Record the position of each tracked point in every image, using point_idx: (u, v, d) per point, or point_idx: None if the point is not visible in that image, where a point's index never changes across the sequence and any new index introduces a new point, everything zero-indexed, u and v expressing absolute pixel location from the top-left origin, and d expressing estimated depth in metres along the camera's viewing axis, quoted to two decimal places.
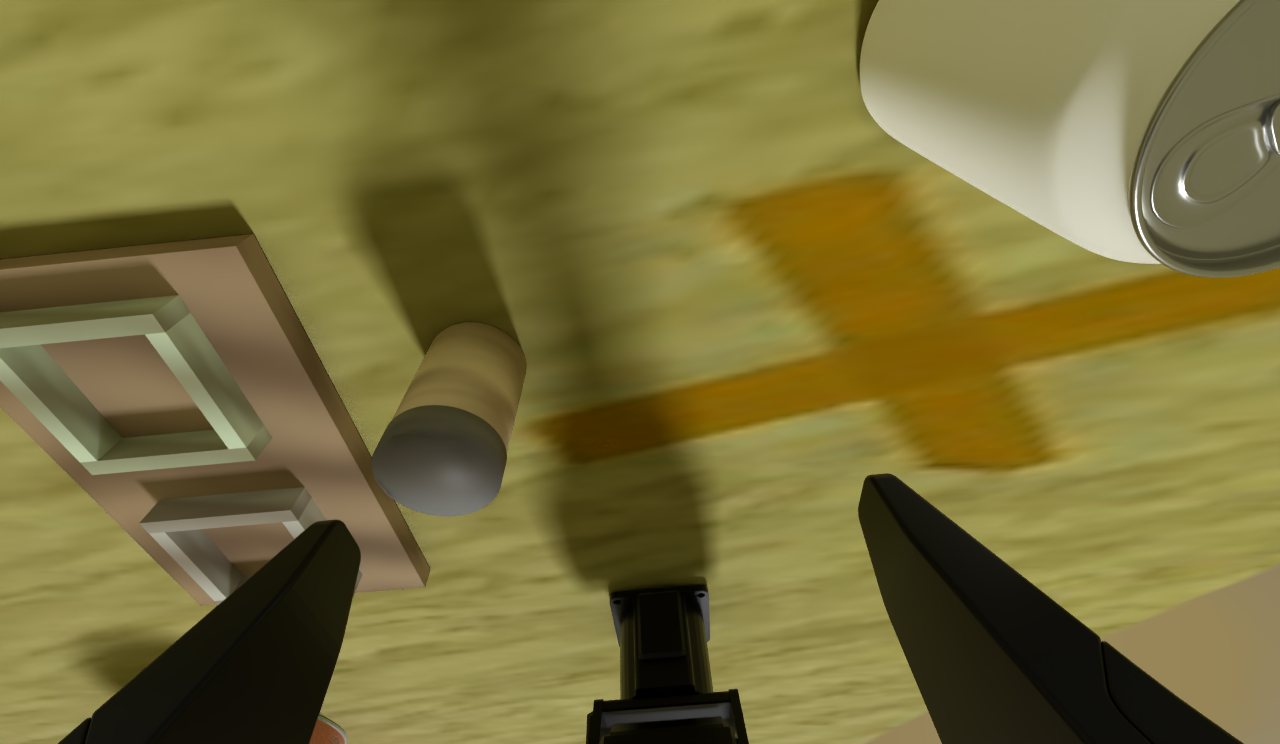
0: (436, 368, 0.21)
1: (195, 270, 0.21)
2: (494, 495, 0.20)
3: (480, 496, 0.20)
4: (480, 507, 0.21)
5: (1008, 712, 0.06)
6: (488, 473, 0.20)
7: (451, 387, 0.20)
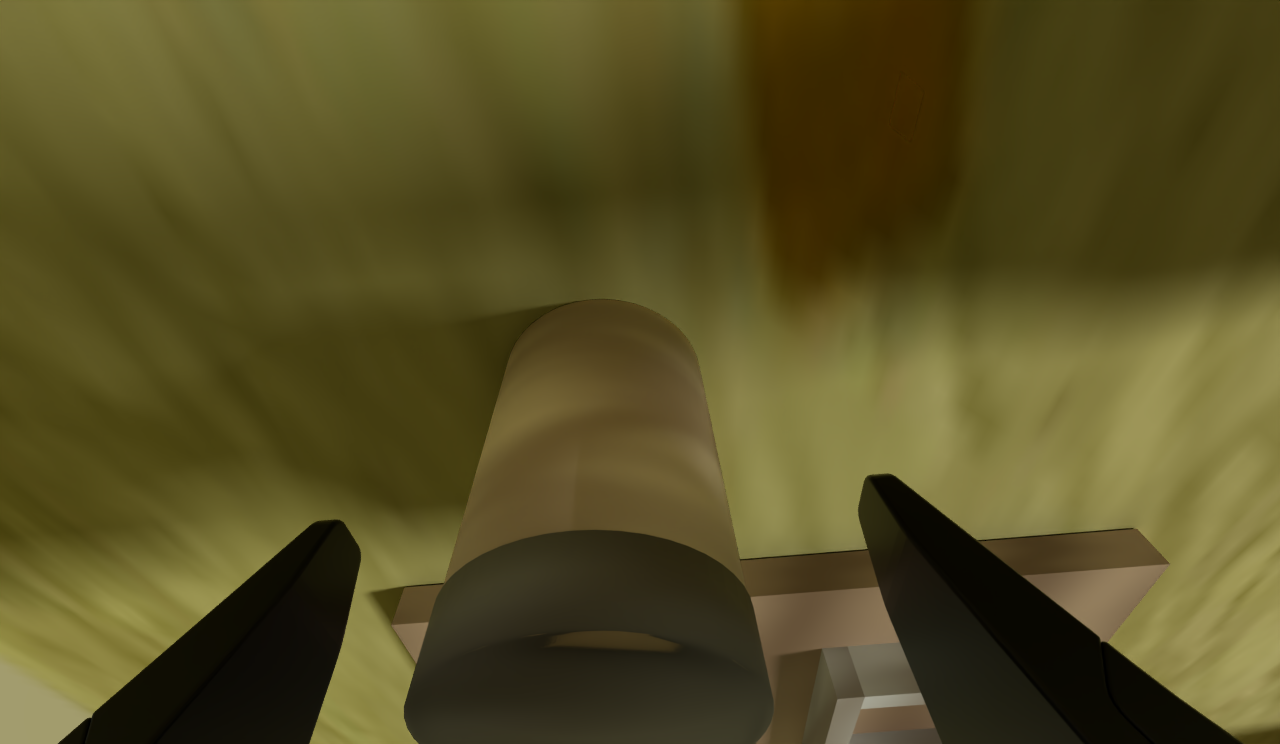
0: None
1: None
2: (692, 646, 0.06)
3: (693, 670, 0.06)
4: (748, 671, 0.06)
5: (1008, 712, 0.06)
6: (583, 650, 0.06)
7: None
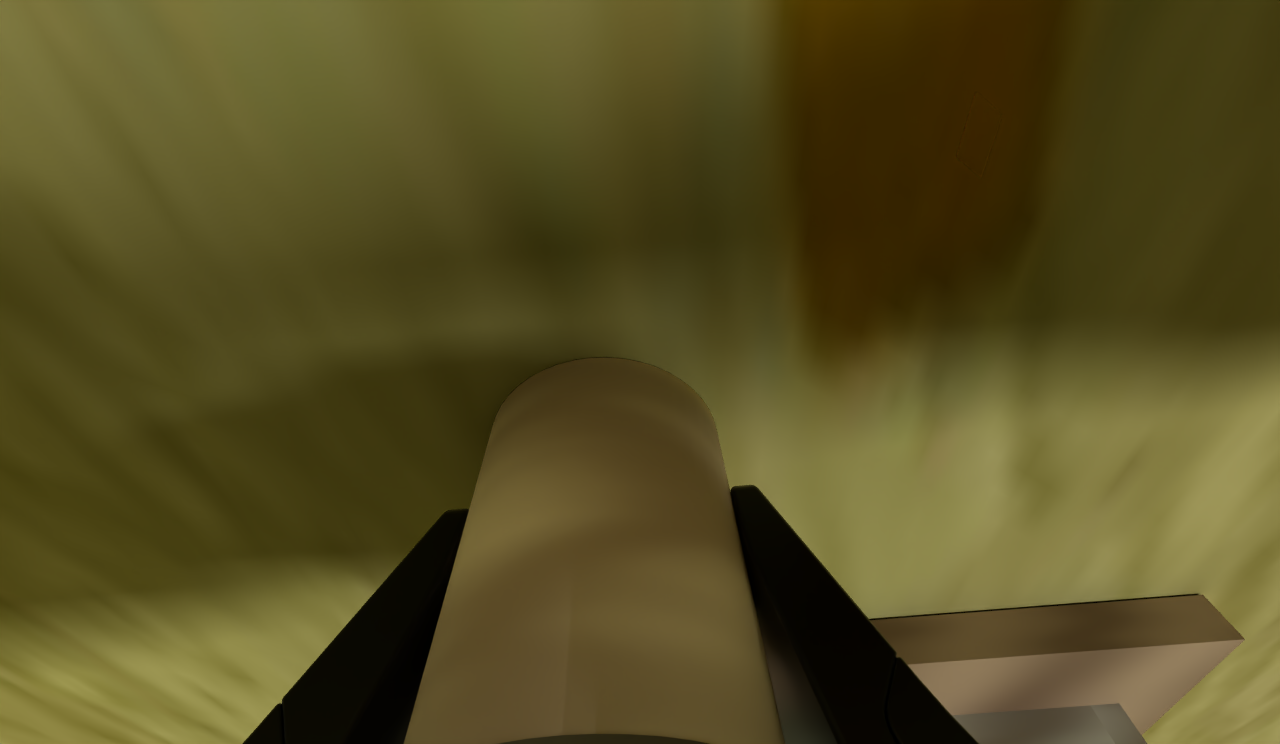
0: None
1: None
2: None
3: None
4: None
5: (809, 727, 0.06)
6: None
7: None
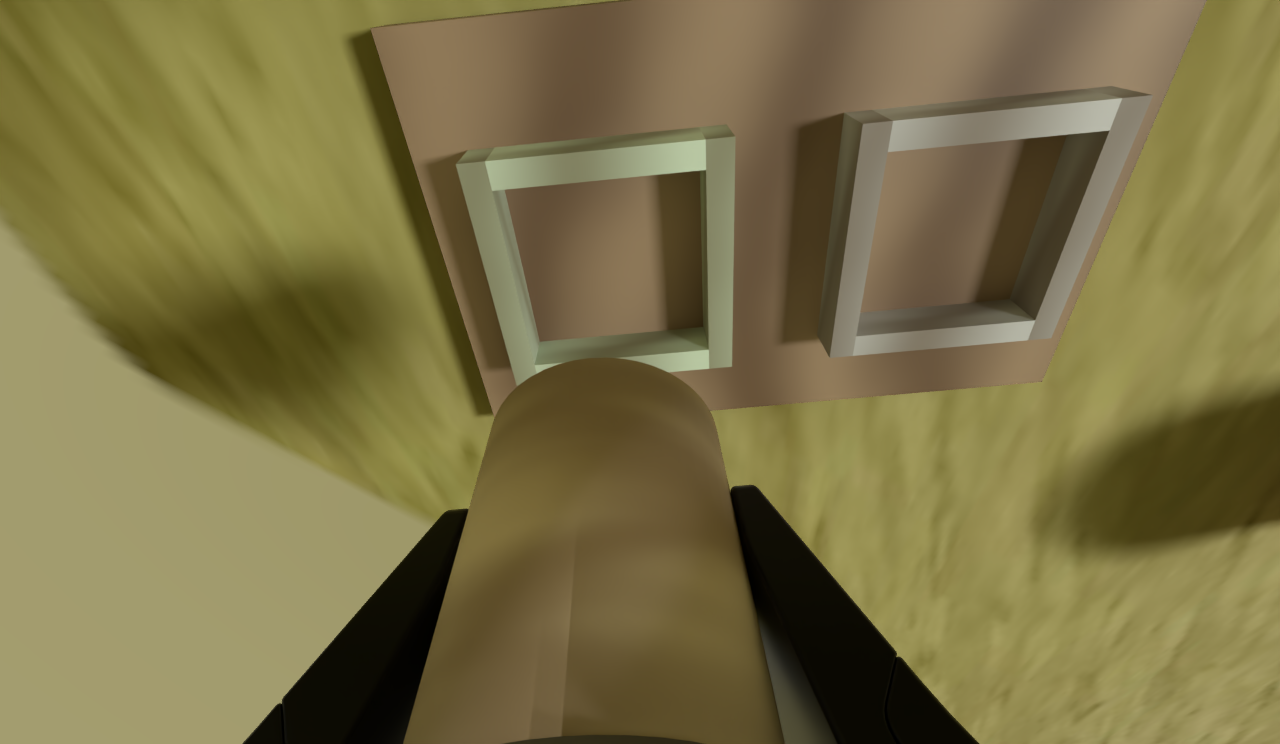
0: None
1: (423, 108, 0.15)
2: None
3: None
4: None
5: (809, 727, 0.06)
6: None
7: None
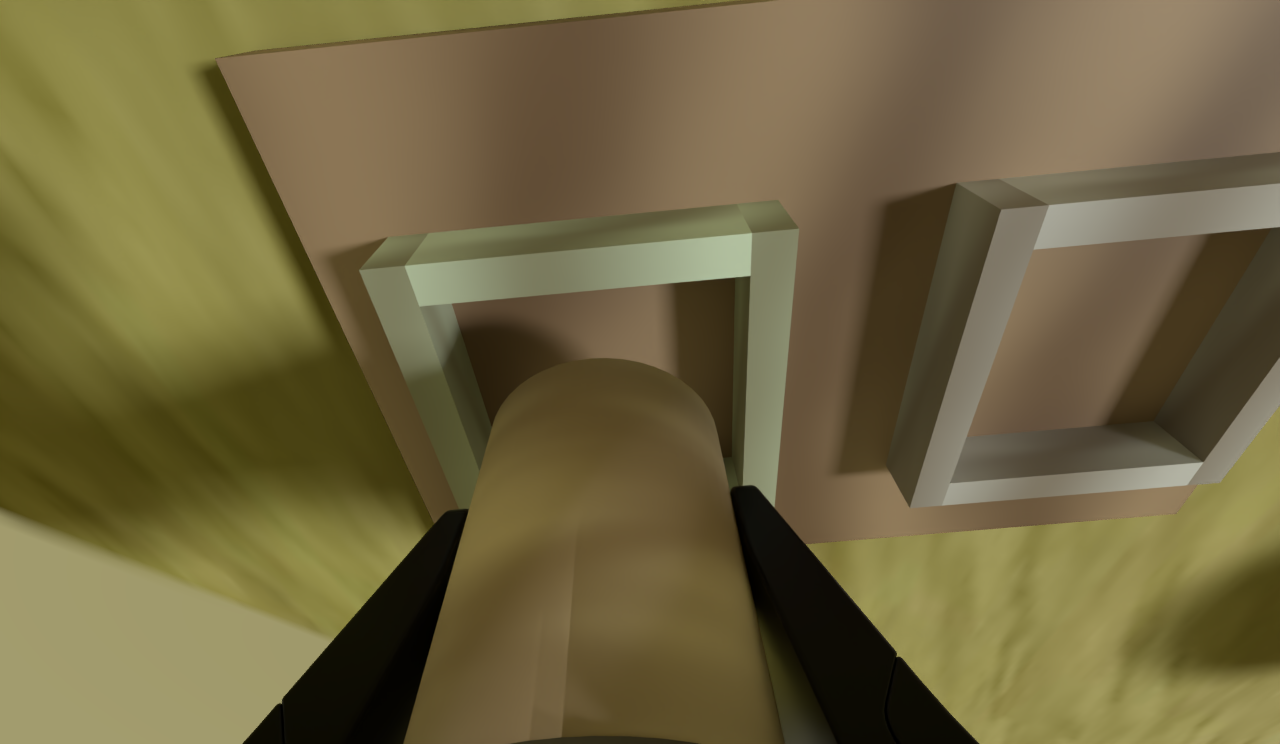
0: None
1: (314, 178, 0.10)
2: None
3: None
4: None
5: (809, 727, 0.06)
6: None
7: None
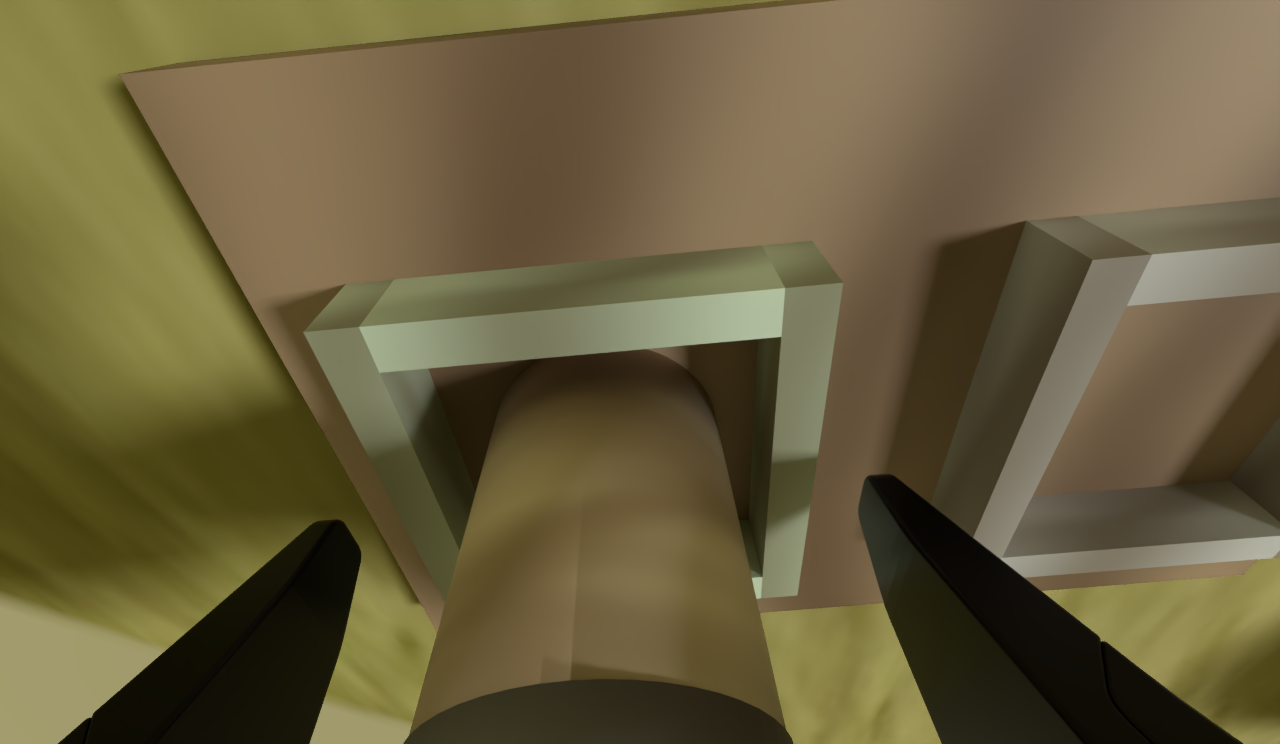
0: None
1: (253, 217, 0.08)
2: None
3: None
4: None
5: (1008, 712, 0.06)
6: None
7: None
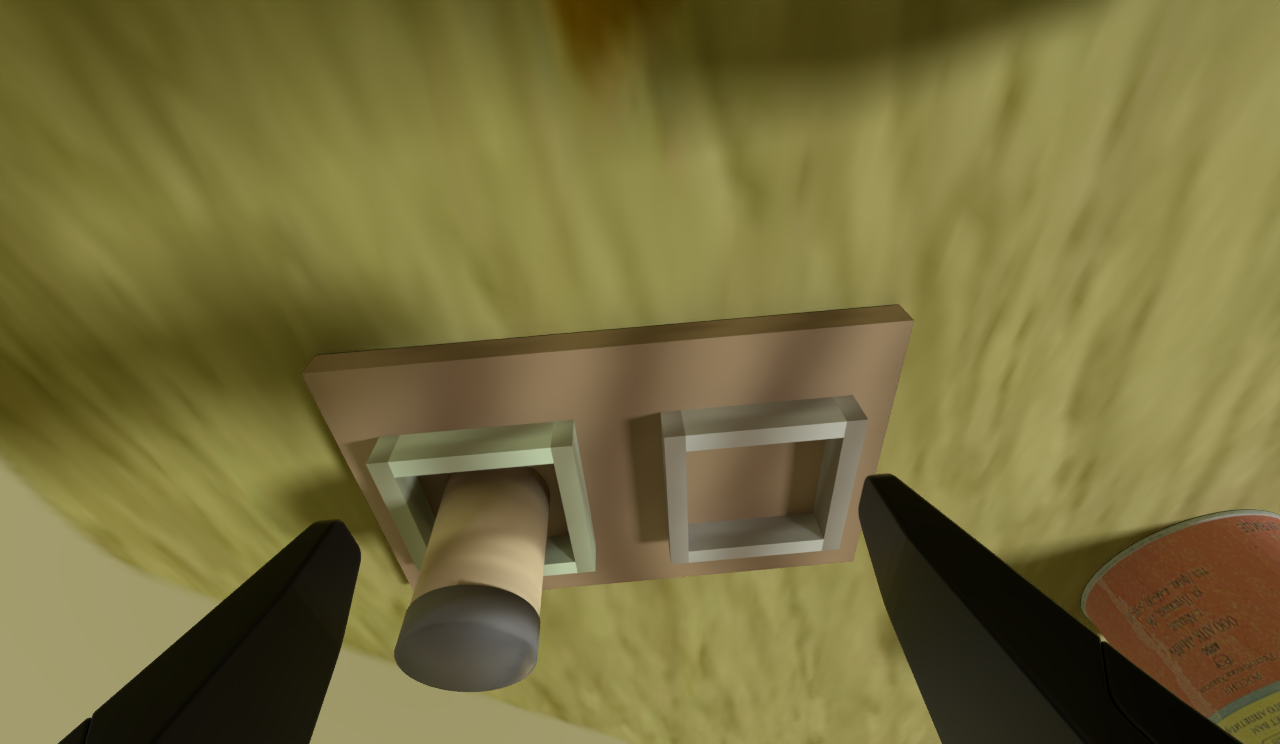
0: None
1: (343, 415, 0.21)
2: (494, 625, 0.17)
3: (498, 634, 0.17)
4: (519, 635, 0.17)
5: (1008, 712, 0.06)
6: (456, 627, 0.17)
7: None
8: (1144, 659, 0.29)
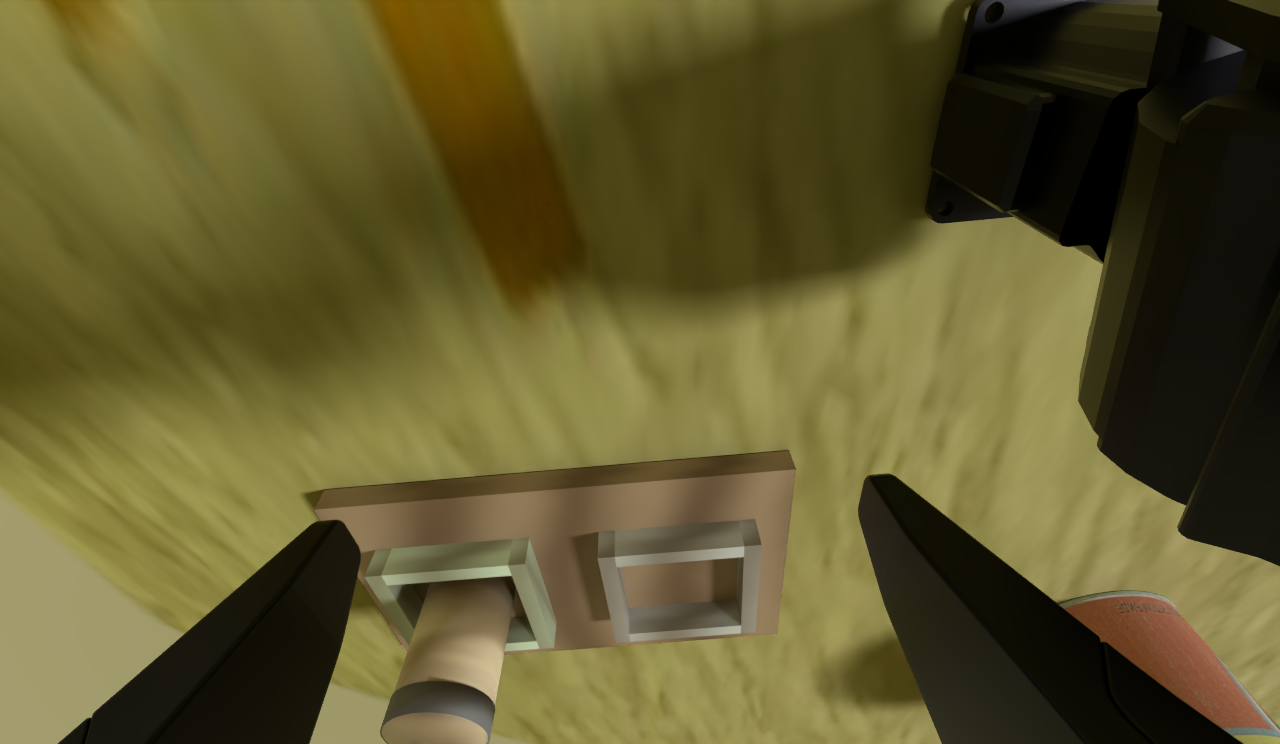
0: None
1: None
2: (453, 715, 0.22)
3: (456, 721, 0.22)
4: (472, 721, 0.22)
5: (1008, 712, 0.06)
6: (424, 716, 0.22)
7: None
8: None
